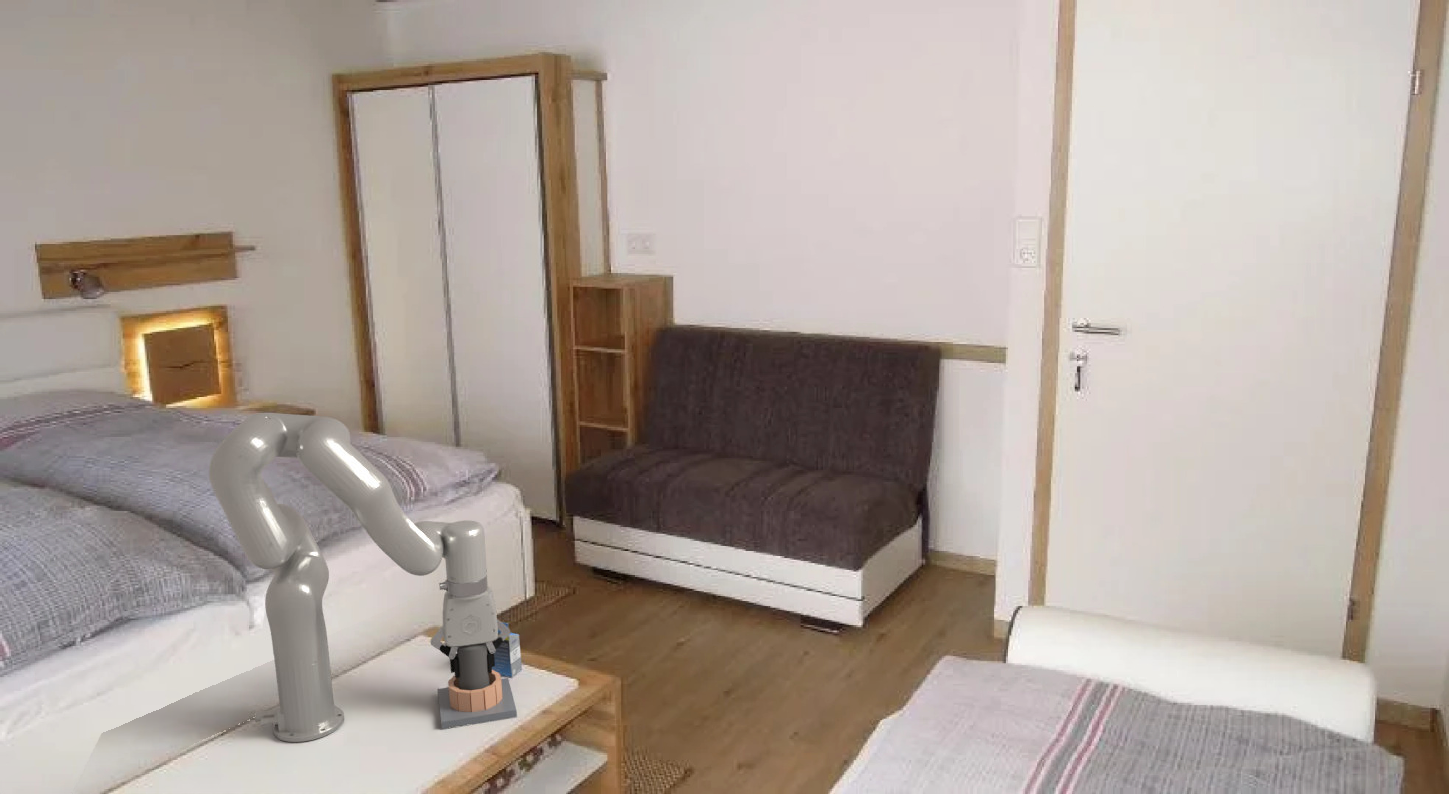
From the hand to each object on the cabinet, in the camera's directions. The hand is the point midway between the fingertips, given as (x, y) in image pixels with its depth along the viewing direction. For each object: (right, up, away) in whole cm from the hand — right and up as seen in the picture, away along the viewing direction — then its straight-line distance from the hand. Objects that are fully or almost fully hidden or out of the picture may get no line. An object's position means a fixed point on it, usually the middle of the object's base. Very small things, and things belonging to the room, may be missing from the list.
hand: (473, 671), depth 205 cm
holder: (0, -7, +1) cm, 7 cm away
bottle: (0, -5, +1) cm, 5 cm away
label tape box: (+2, -4, +16) cm, 17 cm away
